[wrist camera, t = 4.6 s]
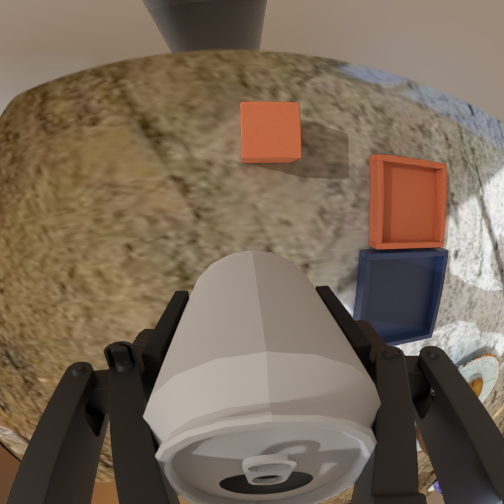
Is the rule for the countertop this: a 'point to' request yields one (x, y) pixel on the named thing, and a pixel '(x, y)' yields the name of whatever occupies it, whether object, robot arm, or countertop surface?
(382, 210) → the terracotta tray
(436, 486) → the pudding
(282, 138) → the block
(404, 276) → the navy tray
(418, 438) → the food on plate
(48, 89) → the countertop surface
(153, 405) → the can
